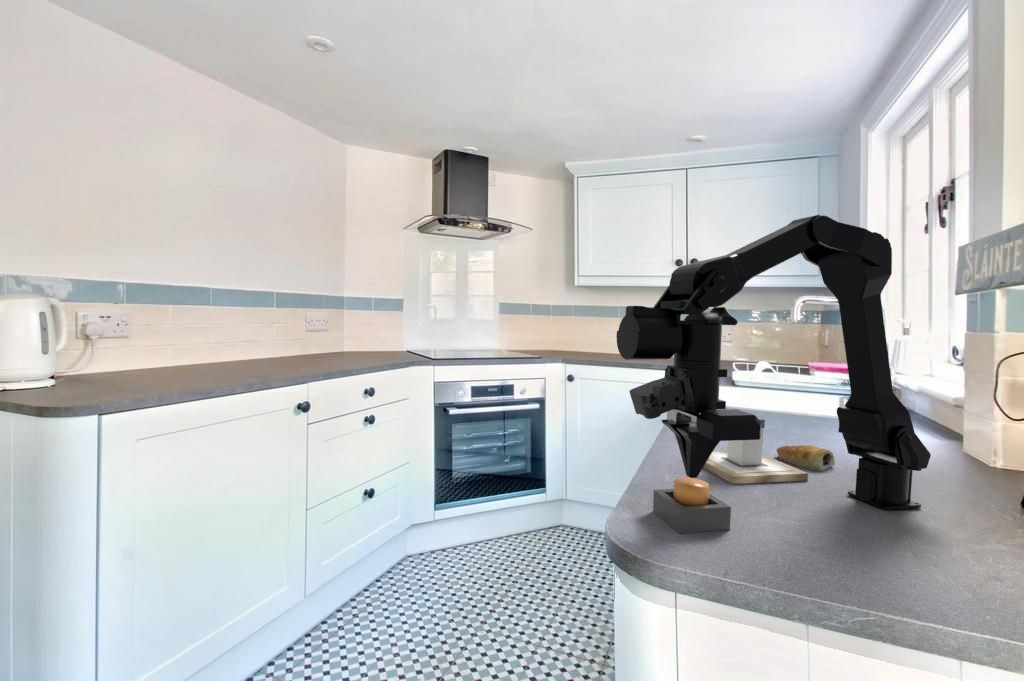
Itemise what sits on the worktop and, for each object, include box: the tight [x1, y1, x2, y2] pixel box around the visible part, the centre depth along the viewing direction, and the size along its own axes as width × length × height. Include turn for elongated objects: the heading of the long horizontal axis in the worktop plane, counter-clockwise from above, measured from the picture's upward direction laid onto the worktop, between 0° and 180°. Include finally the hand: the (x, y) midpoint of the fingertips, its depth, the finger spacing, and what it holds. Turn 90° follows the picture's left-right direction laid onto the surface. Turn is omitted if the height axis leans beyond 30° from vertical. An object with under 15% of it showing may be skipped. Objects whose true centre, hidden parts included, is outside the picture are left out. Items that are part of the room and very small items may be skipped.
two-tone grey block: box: [727, 416, 766, 465], centre depth 88 cm, size 4×4×8 cm
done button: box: [673, 477, 710, 506], centre depth 65 cm, size 4×4×2 cm
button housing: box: [652, 488, 732, 534], centre depth 65 cm, size 7×7×3 cm
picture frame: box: [702, 450, 809, 485], centre depth 88 cm, size 14×14×1 cm
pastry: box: [776, 444, 836, 472], centre depth 93 cm, size 9×7×4 cm
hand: (691, 477), depth 65 cm, fingers closed
